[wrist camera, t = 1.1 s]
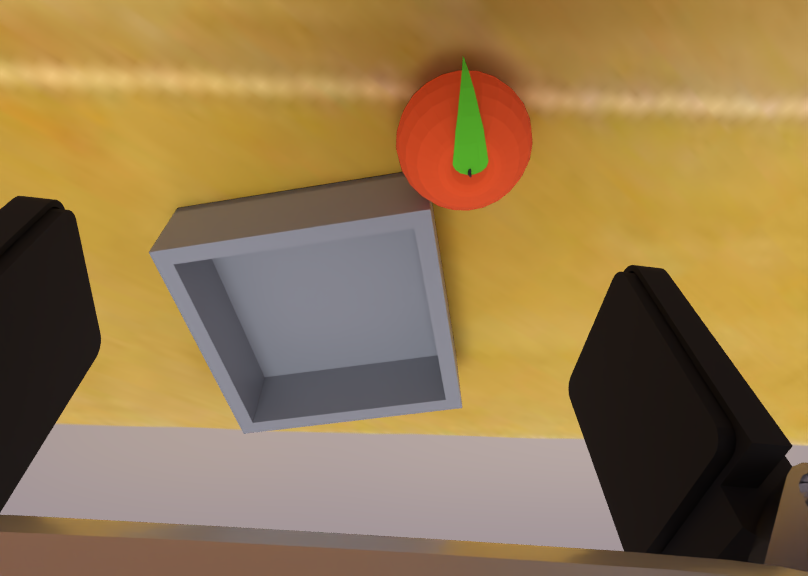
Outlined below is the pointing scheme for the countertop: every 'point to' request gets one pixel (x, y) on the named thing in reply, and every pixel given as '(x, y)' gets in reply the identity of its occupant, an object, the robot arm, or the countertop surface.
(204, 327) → the bin
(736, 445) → the robot arm
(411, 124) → the clementine
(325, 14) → the countertop surface
